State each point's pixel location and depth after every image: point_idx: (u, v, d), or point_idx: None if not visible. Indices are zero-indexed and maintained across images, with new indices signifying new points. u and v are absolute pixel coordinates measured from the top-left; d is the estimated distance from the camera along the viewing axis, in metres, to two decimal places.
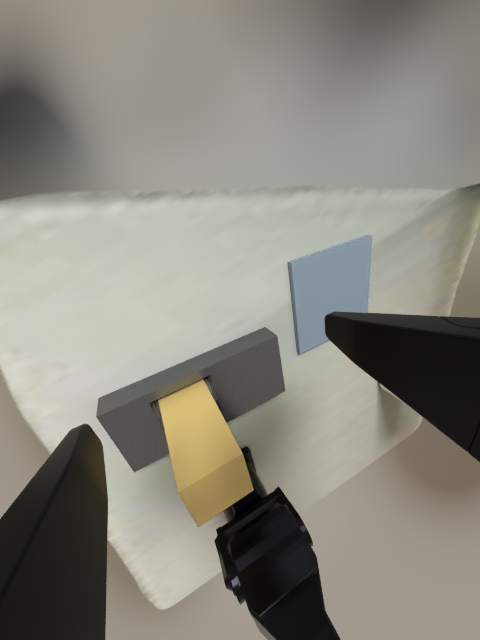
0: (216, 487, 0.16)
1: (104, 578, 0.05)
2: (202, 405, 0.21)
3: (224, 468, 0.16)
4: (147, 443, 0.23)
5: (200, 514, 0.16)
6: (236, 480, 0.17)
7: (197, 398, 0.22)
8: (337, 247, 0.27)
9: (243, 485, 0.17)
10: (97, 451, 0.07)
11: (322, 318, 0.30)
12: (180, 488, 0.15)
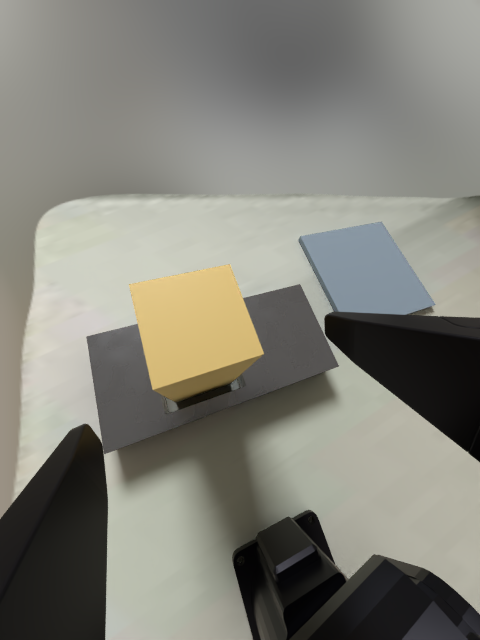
0: (190, 308, 0.10)
1: (104, 578, 0.05)
2: None
3: (202, 276, 0.11)
4: (133, 400, 0.16)
5: (159, 354, 0.09)
6: (225, 311, 0.10)
7: None
8: (346, 228, 0.29)
9: (239, 329, 0.10)
10: (97, 451, 0.07)
11: (362, 292, 0.25)
12: None
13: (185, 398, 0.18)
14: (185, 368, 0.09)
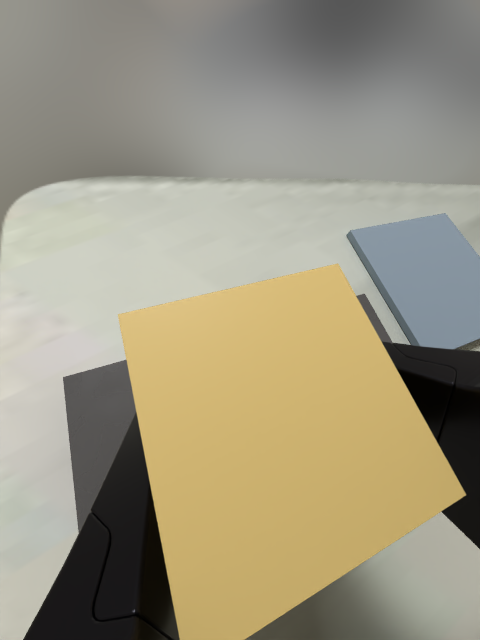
0: (269, 373, 0.04)
1: None
2: None
3: (285, 290, 0.05)
4: None
5: (201, 527, 0.03)
6: (351, 377, 0.04)
7: None
8: (405, 221, 0.23)
9: (393, 427, 0.04)
10: None
11: (436, 302, 0.19)
12: (131, 316, 0.04)
13: None
14: (279, 570, 0.03)
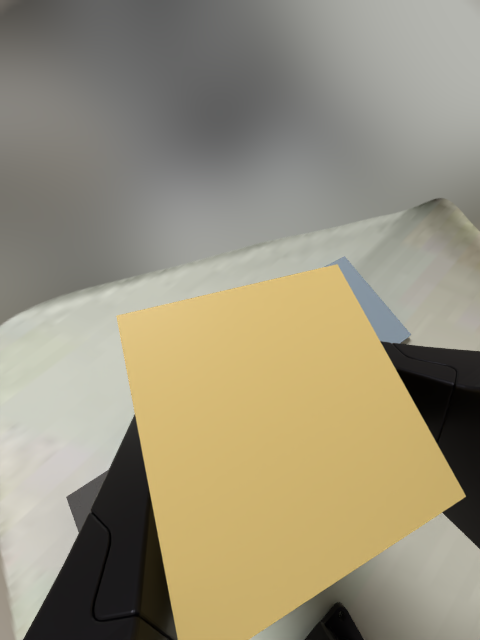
0: (269, 374, 0.04)
1: None
2: None
3: (284, 291, 0.05)
4: None
5: (200, 530, 0.03)
6: (351, 377, 0.04)
7: None
8: None
9: (392, 428, 0.04)
10: None
11: None
12: (130, 317, 0.04)
13: None
14: (278, 573, 0.03)
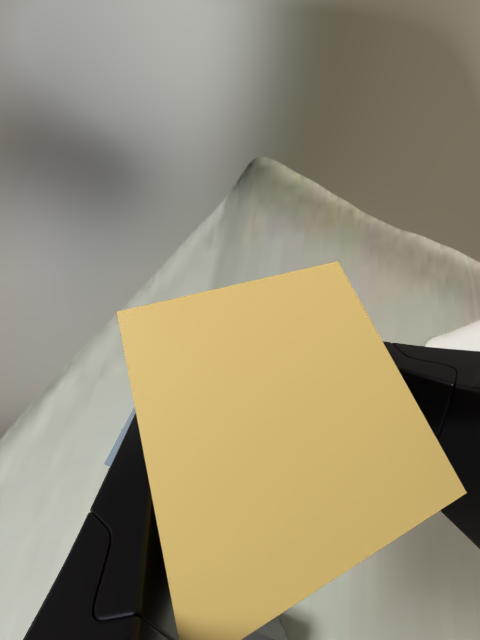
0: (270, 370, 0.04)
1: None
2: None
3: (285, 288, 0.05)
4: None
5: (201, 525, 0.03)
6: (351, 374, 0.04)
7: None
8: None
9: (393, 424, 0.04)
10: None
11: None
12: (131, 313, 0.04)
13: None
14: (278, 568, 0.03)
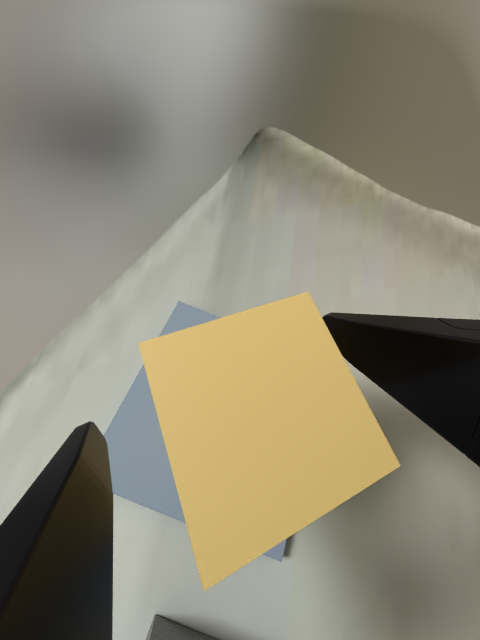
0: (256, 382, 0.05)
1: (111, 573, 0.05)
2: None
3: (266, 316, 0.06)
4: None
5: (209, 495, 0.04)
6: (317, 382, 0.06)
7: None
8: (142, 369, 0.16)
9: (348, 418, 0.05)
10: (102, 448, 0.07)
11: None
12: (148, 342, 0.06)
13: None
14: (264, 522, 0.04)
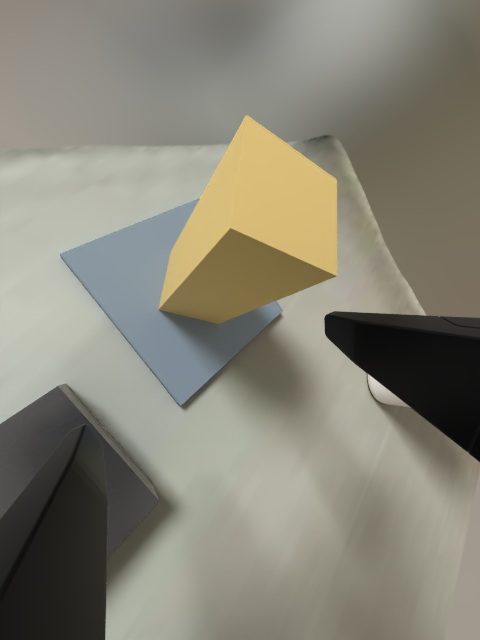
0: (292, 186, 0.09)
1: (104, 577, 0.05)
2: None
3: (311, 168, 0.09)
4: None
5: (249, 201, 0.08)
6: (320, 214, 0.09)
7: None
8: (152, 218, 0.17)
9: (325, 239, 0.09)
10: (97, 451, 0.07)
11: (192, 328, 0.17)
12: None
13: (172, 309, 0.16)
14: (268, 233, 0.08)
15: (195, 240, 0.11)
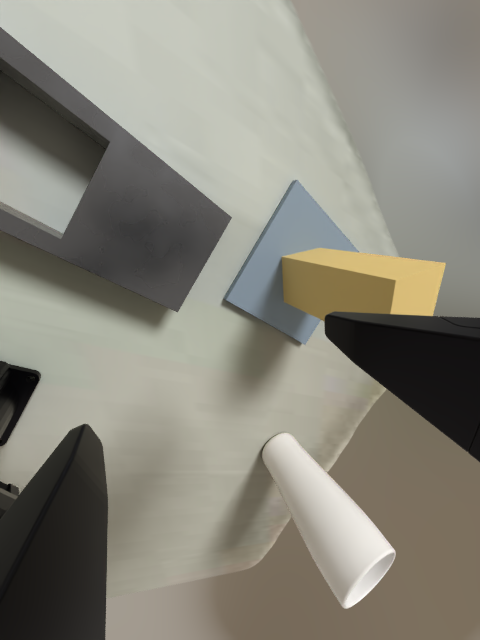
0: (420, 303, 0.15)
1: (104, 577, 0.05)
2: None
3: (431, 310, 0.16)
4: None
5: (408, 283, 0.14)
6: None
7: None
8: (335, 226, 0.24)
9: None
10: (97, 451, 0.07)
11: (276, 285, 0.23)
12: None
13: (287, 266, 0.22)
14: (396, 300, 0.14)
15: (357, 263, 0.17)
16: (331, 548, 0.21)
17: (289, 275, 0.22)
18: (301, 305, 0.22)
